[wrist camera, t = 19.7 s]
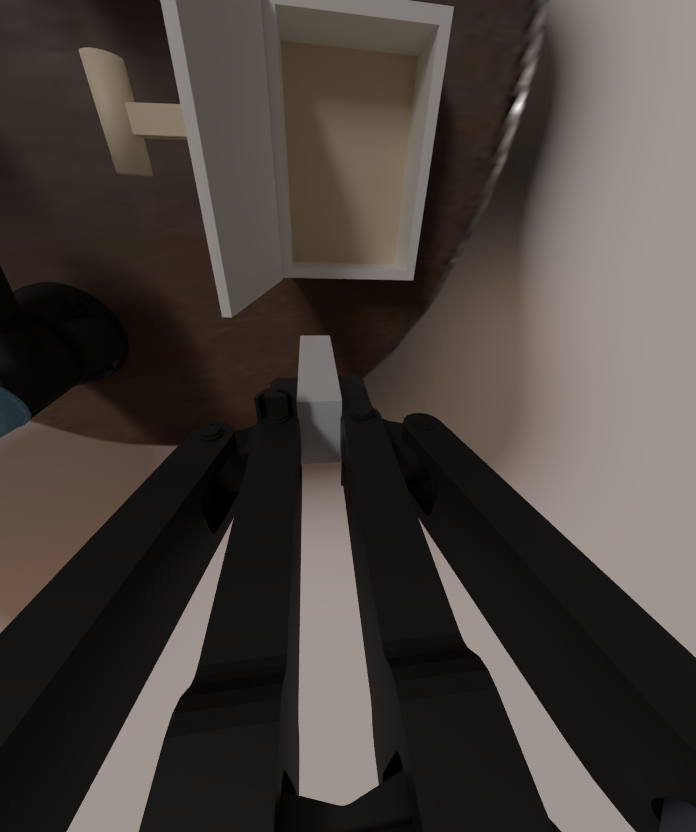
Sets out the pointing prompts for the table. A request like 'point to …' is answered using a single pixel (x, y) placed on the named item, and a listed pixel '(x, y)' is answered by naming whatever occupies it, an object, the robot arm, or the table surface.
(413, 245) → the box
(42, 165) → the table surface
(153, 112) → the lid
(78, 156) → the table surface
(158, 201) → the table surface
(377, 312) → the table surface
